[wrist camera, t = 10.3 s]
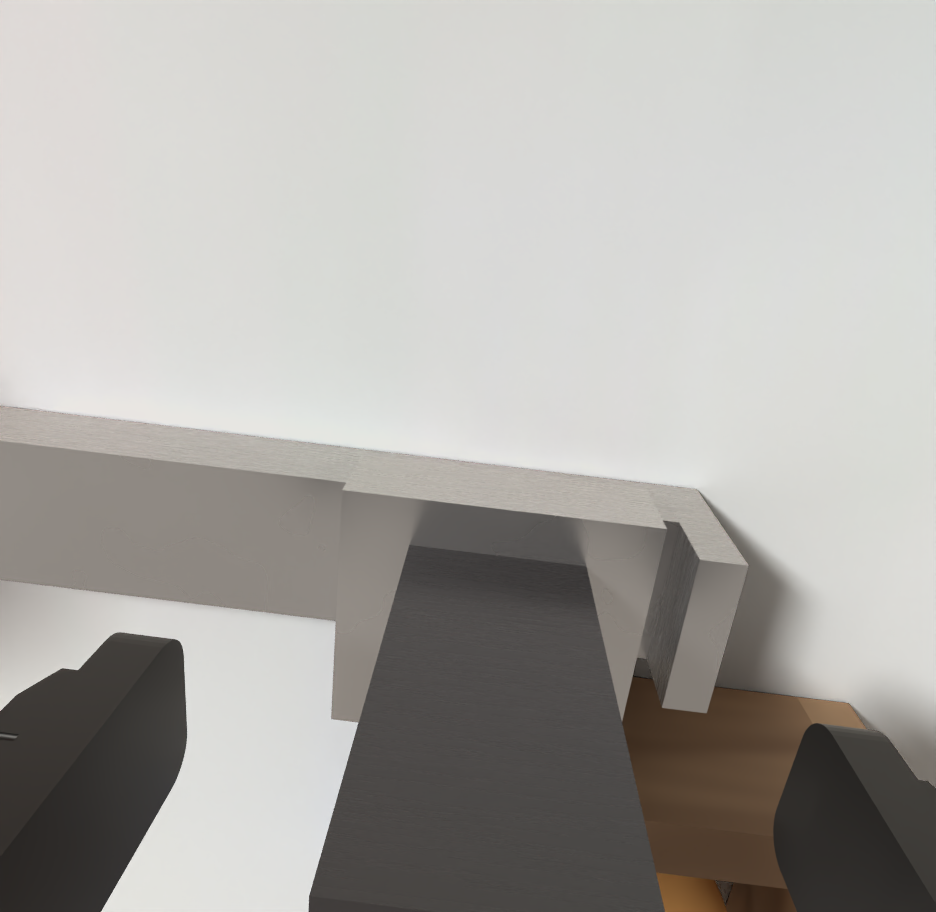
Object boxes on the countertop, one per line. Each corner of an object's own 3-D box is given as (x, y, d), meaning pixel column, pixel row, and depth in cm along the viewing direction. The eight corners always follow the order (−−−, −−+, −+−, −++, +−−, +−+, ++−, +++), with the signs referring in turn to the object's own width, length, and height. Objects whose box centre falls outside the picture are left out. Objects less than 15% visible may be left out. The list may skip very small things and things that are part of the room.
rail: (-196, 382, 14) (-383, 428, 11) (696, 489, 14) (748, 566, 11) (-165, 511, 15) (-329, 585, 12) (666, 612, 15) (706, 713, 12)
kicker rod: (379, 425, 13) (162, 799, 5) (629, 454, 13) (845, 884, 5) (350, 859, 18) (205, 1472, 9) (542, 883, 18) (576, 1522, 9)
